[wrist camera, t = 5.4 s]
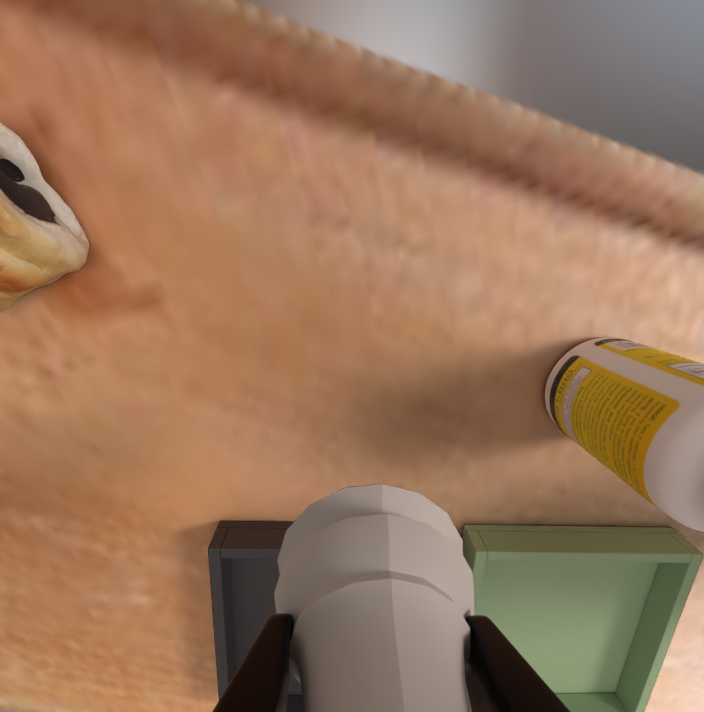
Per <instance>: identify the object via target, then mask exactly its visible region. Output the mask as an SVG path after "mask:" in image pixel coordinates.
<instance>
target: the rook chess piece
mask: <svg viewBox="0 0 704 712" xmlns="http://www.w3.org/2000/svg"><path fill="white" fill-rule="evenodd" d="M277 562H278V567H279V572H280V576H279V579H278V582H277V586H276V589H275V592H274V598H275V606H276V613H289V614H291V615H292V637H291V640H290V663H291V668H292V672H293V675H294V677H295V678H296V679H297V680H298V681H299V683H300V684H301V689H302V696H303V712H471V708H470V702H469V697H468V691H467V685H466V679H465V665H466V663H467V661H468V659H469V656H470V647H471V640H470V627H469V625H468V624H467V622H466V620H465V619H466V617H467V616H469V615H474V585H473V573H472V570H471V569H470V567H469V565H468V563H467V561H466V560H465V558H464V556H463V540H462V538H461V537H460V535H459V533H458V531H457V529H456V528H455V526H454V524H453V522H452V520H451V519H450V517H449V515H448V513H447V512H445V511H444V510H442V509H441V508H440V507H438V506H437V505H435V504H434V503H433V502H431V501H430V500H428V499H427V498H426V497H424V496H423V495H421V494H420V493H417V492H413V491H409V490H405V489H400V488H396V487H392V486H388V485H384V484H372V485H362V486H353V487H346V488H343V489H341V490H339V491H337V492H335V493H333V494H331V495H329V496H327V497H325V498H323V499H321V500H319V501H317V502H315V503H313V504H311V505H309V506H308V507H307V508H306V509H305V510H304V512H303V513H302V514H301V515H300V516H299V517H298V518H297V519H296V520H295V522H294V523H293V524H292V525H291V526H290V527H289V528H288V529H287V530H286V533H285V536H284V540H283V543H282V546H281V550H280V553H279V556H278V560H277Z"/></svg>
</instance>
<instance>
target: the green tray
mask: <svg viewBox="0 0 704 712" xmlns="http://www.w3.org/2000/svg"><path fill="white" fill-rule="evenodd" d="M462 540H463V556H464V558H465V560H466V561H467V563H468V565H469V567H470V569H471V570H472V573H473V585H474V615H484V616H487V617H488V618H489V619H490V620H491V621H492V622H493V623H494V624H495V625H496V626H497V628H498V629H499V630H500V631H501V632H502V633H503V634H504V636H505V637H506V638H507V639H508V640H509V641H510V643H511V644H512V645H513V646H514V647H515V648H516V649H517V651H518V652H519V653H520V654H521V655H522V656H523V658H524V659H525V660H526V661H527V662H528V663H529V664H530V666H531V667H532V668H533V669H534V670H535V671H536V672H537V674H538V675H539V676H540V677H541V678H542V679H543V681H544V682H545V683H546V684H547V685H548V686H549V687H550V689H551V690H552V691H553V692H554V693H555V694H556V696H557V697H558V698H559V699H560V700H561V701H562V702H563V704H564V705H565V706H566V707H567V708H568V709H569V711H570V712H644V711H645V709H646V706H647V703H648V701H649V698H650V696H651V693H652V690H653V688H654V685H655V682H656V680H657V677H658V674H659V672H660V669H661V666H662V664H663V661H664V658H665V656H666V653H667V651H668V648H669V645H670V643H671V640H672V637H673V635H674V632H675V629H676V627H677V624H678V621H679V619H680V616H681V614H682V611H683V608H684V606H685V603H686V600H687V598H688V595H689V592H690V590H691V587H692V584H693V582H694V579H695V577H696V574H697V571H698V569H699V566H700V563H701V561H702V558H703V555H704V554H703V553H702V552H700V551H699V550H698V549H697V548H696V547H694V546H693V545H692V544H691V543H690V542H688V541H687V540H686V539H685V538H684V537H682V536H681V535H680V534H678V532H676V531H675V530H674V529H673V528H671V527H603V526H534V525H466V524H465V525H464V528H463V535H462ZM467 691H468V690H467ZM468 697H469V695H468ZM469 702H470V700H469ZM470 708H471V705H470ZM471 712H472V710H471Z"/></svg>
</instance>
